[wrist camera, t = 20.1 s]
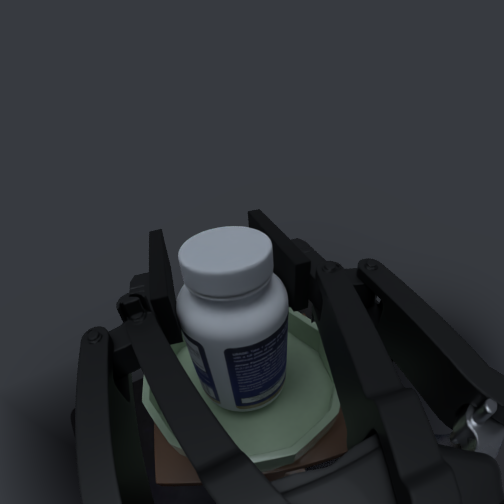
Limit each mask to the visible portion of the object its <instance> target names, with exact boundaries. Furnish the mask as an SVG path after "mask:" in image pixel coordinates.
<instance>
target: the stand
mask: <svg viewBox="0 0 504 504" xmlns="http://www.w3.org/2000/svg"><path fill="white" fill-rule="evenodd" d="M302 315H304V316H305V317H306V315H305V314H302ZM346 439H347V428H346V424H345V420H344V417H343V413H342V409H341V406H340V409H339V413H338V415H337V417H336V419H335V422H334V424H333V426H332V427H331V428H330V429H329V430H328V431H327V432H326V433H325V434H324V435H323V436H322V437H321V439H320V440H319V441H318V442H317V443H316V444H315V445H314V446H313V447H312V448H311V449H310V450H309V451H307V452H306V453H305V454H304V455H302V456H301V457H300V458H298V459H297V460H296V461H295V462H294V463H292V464H288V465H284V466H281V467H279V468H276V469H272V470H268V471H264V472H262V473H263V474H264V475H265V477H266V478H267V479H268V480H269V481H273V480H276V479H279V478H282V477H285V476H288V475H291V474H293V473H298V472H305V468H307V467H310V466H314V465H317V464H320V463H324V462H327V461H330V460H333V459H336V458H339V457H341V456H343V455H344V454H345V453H346V452H347V451H348V449H347V441H346ZM154 448H155V473H156V483H157V484H159V485H161V486H197V485H203V484H202V482H201V481H200V479H199V477H198V474H197V472H196V470H195V469H194V467H193V466H192V464H191V462H190V461H189V459H188V458H187V457H185V456H183V455H181V454H179V453H178V452H177V451H176V450H175V449H174V448H173V447H172V446H171V445H170V444H169V442H168V441H167V440H166V438H165V437H164V435H163V434H162V432H161V431H160V429H159V428H158V426H157V425H156V423H155V422H154Z"/></svg>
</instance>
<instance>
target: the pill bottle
mask: <svg viewBox="0 0 504 504" xmlns="http://www.w3.org/2000/svg"><path fill="white" fill-rule="evenodd" d="M178 259H179V263H180V268H181V272H182V277H183V280H184V285H183V287H182V288H181V290H180V292H179V294H178V297H177V301H176V312H177V317H178V321H179V324H180V328H181V331H182V333H183V336H184V339H185V342H186V345H187V348H188V351H189V354H190V356H191V359H192V362H193V365H194V367H195V370H196V373H197V375H198V378H199V380H200V383H201V385H202V388H203V390H204V391H205V393H206V395H207V396H208V397H209V399H210V400H211V401H212V402H214V403H215V404H217V405H218V406H220V407H222V408H224V409H227V410H231V411H238V412H245V411H253V410H257V409H260V408H262V407H264V406H266V405H268V404H270V403H271V402H272V401H273V400H275V399H276V398H277V396H278V395H279V394H280V392H281V391H282V389H283V386H284V383H285V378H286V363H287V338H288V314H289V309H288V294H287V290H286V288H285V286H284V284H283V282H282V281H281V280H280V278H279V277H278V276H277V275H276V274H274V273H273V268H274V264H273V249H272V242H271V240H270V239H269V237H268V236H267V235H266V234H264V233H263V232H261V231H259V230H256V229H253V228H248V227H241V226H228V227H219V228H214V229H210V230H207V231H204V232H201V233H199V234H197V235H195V236H193V237H191V238H190V239H188V240H187V241H186V242H185V243H184V244H183V245H182V246H181V248H180V250H179V254H178Z"/></svg>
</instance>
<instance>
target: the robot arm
mask: <svg viewBox="0 0 504 504" xmlns="http://www.w3.org/2000/svg"><path fill="white" fill-rule="evenodd" d="M248 220H249V228H253V229H256V230H259V231H261V232H263V233H264V234H266V235H267V236H268V237H269V239H270V240H271V242H272V249H273V264H274V268H273V273H274V274H276V275H277V276H278V277H279V278H280V280H281V281H282V282H283V284H284V286H285V288H286V290H287V294H288V304H289V306H290V307H291V309H292V310H293V312H295V311H299V310H302V309H305V308H308V298H309V300H310V301H311V302H312V303H313V306H312V315H311V323H313V321H314V319H315V322H316V325H317V328H318V331H319V334H320V338H321V341H322V344H323V347H324V351H325V354H326V357H327V361H328V364H329V367H330V371H331V374H332V378H333V381H334V384H335V388H336V391H337V395H338V398H339V402H340V406H341V409H342V413H343V417H344V420H345V424H346V428H347V439H346V441H347V449H348V451H347V452H346V453H345V454H344V455H343V456H341V457H340V458H339V459H338V460H337V461H335V462H334V463H333V464H332V465H330V466H328V467H325V468H321V469H316V470H310V471H305V472H298V473H293V474H291V475H288V476H285V477H282V478H279V479H276V480H273V481H269V480H268V479H267V478H266V477H265V475H264V474H263V473H262V472H261V471H260V470H259V469H258V467H257V466H256V465H255V464H254V463H253V462H252V460H251V459H250V458H249V457H248V456H247V455H246V454H245V453H244V452H243V451H241V450H240V448H239V447H238V446H237V445H236V444H235V442H234V441H233V440H232V438H231V437H230V436H229V434H228V433H227V432H226V430H225V429H224V428H223V426H222V425H221V423H220V422H219V421H218V419H217V418H216V417H215V415H214V414H213V412H212V411H211V409H210V408H209V406H208V405H207V404H206V402H205V401H204V399H203V398H202V396H201V395H200V393H199V392H198V390H197V388H196V387H195V385H194V384H193V382H192V381H191V379H190V377H189V376H188V374H187V373H186V371H185V369H184V368H183V366H182V364H181V363H180V361H179V359H178V358H177V356H176V354H175V353H174V351H173V349H172V347H171V346H170V345H172V344H177V343H181V342H183V337H182V332H181V328H180V324H179V321H178V317H177V312H176V298H175V293H174V286H173V280H172V272H171V266H170V262H169V258H168V255H167V250H166V246H165V242H164V237H163V233H162V229H159V230H155V231H151V232H149V233H150V234H149V272H148V273H144V274H140V275H135V276H134V277H133V279H132V280H131V282H130V293H127V294H126V295H124V296H122V297H121V298H120V299H119V300H118V302H117V310H118V312H119V314H120V316H121V318H122V320H123V324H122V325H121V326H119V327H117V328H115V329H113V330H111V331H109V332H108V331H107V330H106V329H105V328H104V327H94V328H91V329H89V330H88V331H87V332H86V333H85V334H84V335H83V337H82V339H81V346H80V353H79V362H78V373H77V386H76V409H75V435H76V456H77V469H78V478H79V487H80V494H81V501H82V504H154V501H153V497H152V494H151V490H150V486H149V482H148V478H147V473H146V469H145V464H144V460H143V455H142V449H141V444H140V438H139V432H138V426H137V419H136V412H135V404H134V395H133V385H132V374H131V373H132V372H134V371H136V370H138V369H140V368H141V369H142V371H143V374H144V376H145V378H146V380H147V383H148V385H149V387H150V389H151V391H152V393H153V395H154V397H155V400H156V402H157V404H158V406H159V408H160V410H161V412H162V414H163V415H164V417H165V419H166V421H167V423H168V425H169V427H170V429H171V430H172V432H173V434H174V436H175V437H176V439H177V441H178V443H179V444H180V446H181V448H182V449H183V451H184V453H185V454H186V456H187V458H188V459H189V461H190V462H191V464H192V466H193V467H194V469H195V470H196V472H197V474H198V477H199V479H200V481H201V482H202V484H203V485H204V487H205V488H206V490H207V491H208V493H209V494H210V495H211V497H212V498H213V500H214V501H215V502H216V504H504V493H503V489H502V482H501V471H500V468H499V465H498V463H497V462H496V460H495V458H496V456H497V454H498V452H499V449H500V447H501V445H502V442H503V440H504V375H502V374H501V373H499V372H497V371H496V370H494V369H493V368H491V367H489V366H488V365H487V363H486V362H485V361H484V360H483V359H482V358H481V357H480V356H479V355H478V354H477V353H476V352H475V350H474V349H472V347H471V346H470V345H469V344H468V343H467V342H466V341H465V340H464V339H463V338H462V337H461V336H460V335H459V334H458V333H457V332H456V331H455V330H454V329H453V328H452V327H451V326H450V325H449V324H448V323H447V322H446V321H445V320H443V318H442V317H441V316H440V315H439V314H438V313H436V312H435V311H434V310H433V309H432V308H431V307H430V306H429V305H428V304H427V303H426V302H424V300H423V299H422V298H420V297H419V296H418V295H417V294H416V293H415V292H414V291H413V290H412V289H410V288H409V287H408V286H407V285H406V284H405V283H404V282H403V281H401V280H400V279H399V278H398V277H397V276H395V274H393V273H392V272H391V271H390V270H388V268H386V267H385V266H384V265H383V264H382V263H380V262H379V261H377V260H374V259H363V260H360V261H359V263H358V268H353V269H344V268H343V267H342V266H341V265H340V264H338V263H336V262H333V261H326V260H325V259H324V258H322V257H321V256H320V255H319V254H318V253H317V252H316V251H314V249H313V248H312V247H310V245H309V244H308V243H306V242H305V241H303V240H301V239H298V238H297V239H292V240H290V239H289V238H288V237H287V236H286V235H285V234H284V233H283V232H282V231H281V230H280V229H279V228H278V227H277V226H276V225H275V224H274V223H273V222H272V221H271V220H270V219H269V218H268V217H267V216H266V215H265V214H264V213H262V211H261V210H259V209H258V210H252V211H248ZM377 296H378V297H379V298H380V299H381V301H380V303H379V302H378V301H377V300H376V298H377ZM390 357H391V358H392V359H393V361H394V362H395V363H396V364H397V366H398V367H399V368H400V369H401V371H402V372H403V373H404V374H405V376H406V377H407V378H408V379H409V381H410V382H411V383H412V385H413V386H414V387H415V388H416V390H417V391H418V392H419V394H420V395H421V396H422V397H423V399H424V400H425V401H426V402H427V404H428V405H429V407H430V408H431V409H432V411H433V412H434V413H435V414H436V415H437V416H438V418H439V419H440V420H441V421H442V422H443V423H444V424H445V425H446V426H448V427H449V428H451V429H452V430H453V432H452V433H451V434H450V440H451V442H452V443H454V444H457V443H460V445H461V447H462V449H458V448H454V447H449V446H444V445H440V444H438V443H437V440H436V438H435V435H434V433H433V430H432V428H431V425H430V423H429V420H428V418H427V415H426V413H425V411H424V408H423V406H422V404H421V401H420V399H419V397H418V395H417V393H416V392H415V390H413V389H412V388H405V387H404V386H403V384H402V383H401V380H400V378H399V376H398V374H397V371H396V369H395V367H394V365H393V363H392V361H391V359H390Z"/></svg>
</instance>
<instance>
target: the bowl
mask: <svg viewBox="0 0 504 504" xmlns="http://www.w3.org/2000/svg"><path fill="white" fill-rule="evenodd" d="M288 309H289V314H288V338H287V363H286V378H285V383H284V386H283V389H282V391H281V392H280V394H279V395H278V396H277V398H276V399H275V400H273V401H272V402H271V403H270V404H268V405H266V406H264V407H262V408H260V409H257V410H253V411H245V412H238V411H231V410H227V409H224V408H222V407H220V406H218V405H217V404H215V403H214V402H212V401H211V400H210V399H209V397H208V396H207V395H206V393H205V391H204V390H203V388H202V385H201V383H200V380H199V378H198V375H197V373H196V370H195V367H194V365H193V362H192V359H191V356H190V354H189V351H188V348H187V345H186V342H185V339H184V336H183V333H182V337H183V342H181V343H177V344H172V345H170V346H171V347H172V349H173V351H174V353H175V354H176V356H177V358H178V359H179V361H180V363H181V364H182V366H183V368H184V369H185V371H186V373H187V374H188V376H189V377H190V379H191V381H192V382H193V384H194V385H195V387H196V388H197V390H198V392H199V393H200V395H201V396H202V398H203V399H204V401H205V402H206V404H207V405H208V406H209V408H210V409H211V411H212V412H213V414H214V415H215V417H216V418H217V419H218V421H219V422H220V423H221V425H222V426H223V428H224V429H225V430H226V432H227V433H228V434H229V436H230V437H231V438H232V440H233V441H234V442H235V444H236V445H237V446H238V447H239V448H240V450H241V451H243V452H244V453H245V454H246V455H247V456H248V457H249V458H250V459H251V460H252V462H253V463H254V464H255V465H256V466H257V467H258V469H259V470H260V471H261V472H264V471H268V470H272V469H276V468H279V467H281V466H284V465H288V464H292V463H294V462H295V461H296V460H297V459H298V458H300V457H301V456H302V455H304V454H305V453H306V452H307V451H309V450H310V449H311V448H312V447H313V446H314V445H315V444H316V443H317V442H318V441H319V440H320V439H321V437H322V436H323V435H324V434H325V433H326V432H327V431H328V430H329V429H330V428H331V427H332V426H333V424H334V422H335V419H336V417H337V415H338V413H339V409H340V402H339V398H338V395H337V391H336V388H335V384H334V381H333V378H332V374H331V371H330V367H329V364H328V361H327V357H326V354H325V351H324V347H323V344H322V341H321V338H320V334H319V331H318V328H317V325H316V323H315V322H313V323H311V320H310V319H309V318H307V317H305V316H304V315H302V314H301V313H299V312H298V311H295V312H293V310H292V309H291V308H289V307H288ZM181 332H182V331H181ZM142 403H143V404H144V406H145V408H146V409H147V411H148V412H149V414H150V416H151V417H152V419H153V420H154V422H155V423H156V425H157V426H158V428H159V429H160V431H161V432H162V434H163V435H164V437H165V438H166V440H167V441H168V442H169V444H170V445H171V446H172V447H173V448H174V449H175V450H176V451H177V452H178V453H179V454H181V455H183V456H185V457H187V456H186V454H185V453H184V451H183V449H182V448H181V446H180V444H179V443H178V441H177V439H176V437H175V436H174V434H173V432H172V430H171V429H170V427H169V425H168V423H167V421H166V419H165V417H164V415H163V414H162V412H161V410H160V408H159V406H158V404H157V402H156V400H155V397H154V395H153V393H152V391H151V389H150V387H149V385H148V383H147V380H146V378H145V376H144V380H143V394H142Z"/></svg>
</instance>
